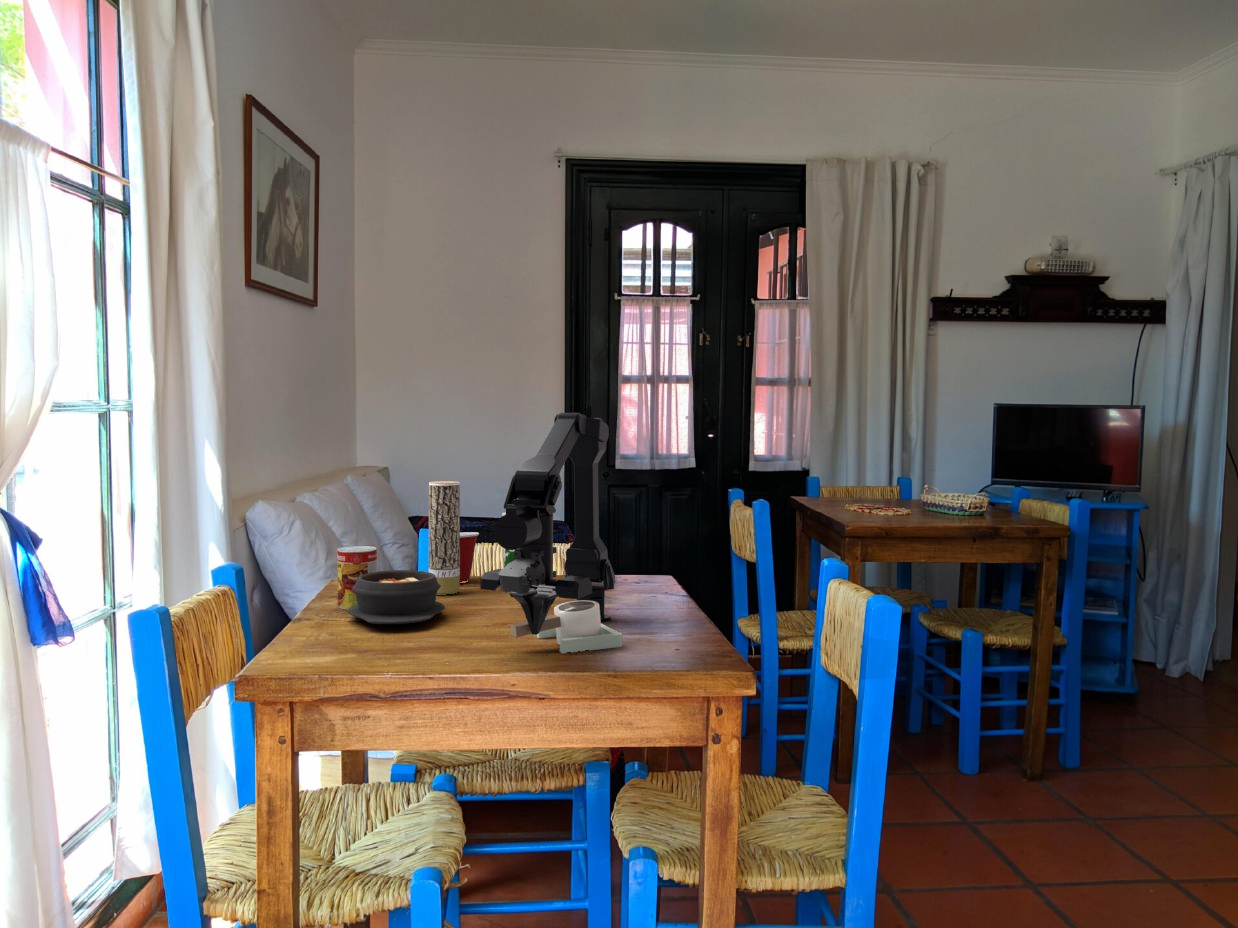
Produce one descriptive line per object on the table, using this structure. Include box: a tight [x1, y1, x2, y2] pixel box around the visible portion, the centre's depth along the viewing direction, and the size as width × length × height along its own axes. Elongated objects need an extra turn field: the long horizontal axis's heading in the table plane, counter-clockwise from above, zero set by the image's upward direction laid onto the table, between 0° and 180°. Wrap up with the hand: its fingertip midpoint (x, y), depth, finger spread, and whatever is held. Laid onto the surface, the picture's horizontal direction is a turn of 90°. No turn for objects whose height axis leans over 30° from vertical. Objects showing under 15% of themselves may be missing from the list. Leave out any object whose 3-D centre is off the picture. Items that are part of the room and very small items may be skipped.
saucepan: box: [510, 600, 602, 646], centre depth 155 cm, size 16×8×6 cm, turn 121°
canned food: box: [336, 545, 378, 610], centre depth 186 cm, size 8×8×12 cm
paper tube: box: [428, 480, 461, 596], centre depth 200 cm, size 7×7×25 cm
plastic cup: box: [460, 531, 480, 582], centre depth 214 cm, size 11×11×12 cm
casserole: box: [347, 569, 446, 625], centre depth 175 cm, size 25×19×8 cm
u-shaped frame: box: [536, 623, 623, 654], centre depth 158 cm, size 12×11×2 cm
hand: (535, 634), depth 150 cm, fingers closed
